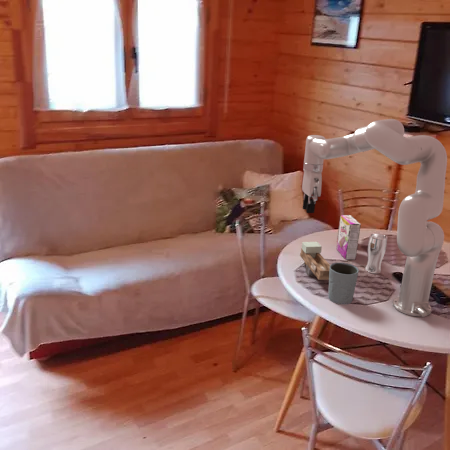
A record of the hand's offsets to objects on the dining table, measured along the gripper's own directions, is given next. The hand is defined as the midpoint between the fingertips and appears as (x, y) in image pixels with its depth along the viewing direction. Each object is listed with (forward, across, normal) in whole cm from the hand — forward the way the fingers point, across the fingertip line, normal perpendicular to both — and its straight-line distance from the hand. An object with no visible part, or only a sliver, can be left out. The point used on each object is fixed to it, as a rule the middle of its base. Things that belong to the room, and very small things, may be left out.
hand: (308, 210), depth 202 cm
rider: (+17, -8, 0) cm, 18 cm away
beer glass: (+21, -14, -25) cm, 36 cm away
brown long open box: (+21, -15, 0) cm, 26 cm away
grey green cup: (+21, -35, -2) cm, 41 cm away
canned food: (+21, +14, -25) cm, 36 cm away
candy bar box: (+21, +2, -20) cm, 29 cm away
